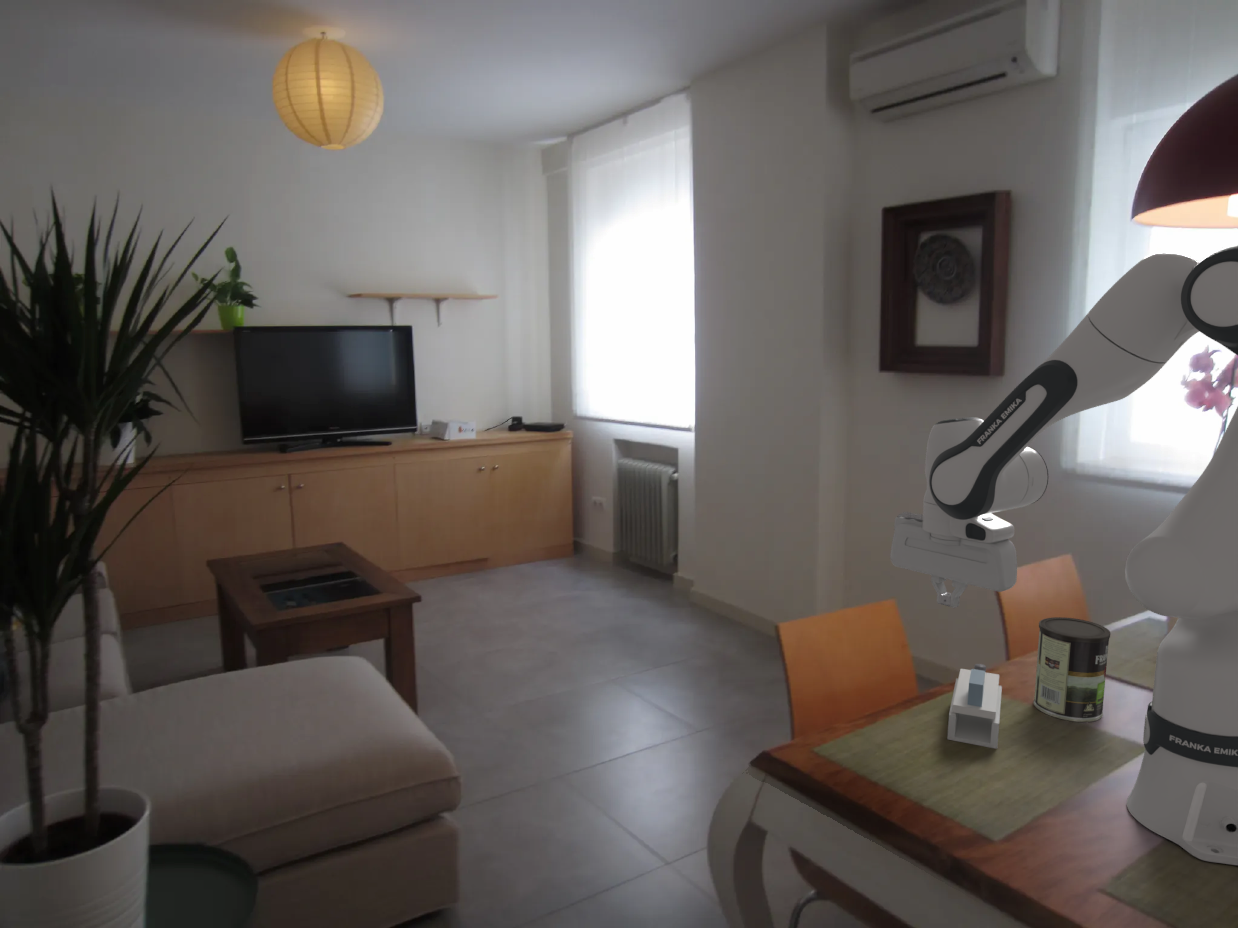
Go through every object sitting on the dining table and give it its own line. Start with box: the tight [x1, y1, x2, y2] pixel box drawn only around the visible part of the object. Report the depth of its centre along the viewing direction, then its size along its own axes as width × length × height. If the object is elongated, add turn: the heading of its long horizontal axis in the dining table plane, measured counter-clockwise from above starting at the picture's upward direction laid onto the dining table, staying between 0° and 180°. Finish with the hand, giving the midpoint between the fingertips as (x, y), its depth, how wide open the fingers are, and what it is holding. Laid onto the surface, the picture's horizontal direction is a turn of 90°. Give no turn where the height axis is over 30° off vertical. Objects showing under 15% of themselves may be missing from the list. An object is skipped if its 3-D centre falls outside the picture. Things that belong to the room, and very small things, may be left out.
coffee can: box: [1033, 617, 1111, 723], centre depth 140 cm, size 10×10×14 cm
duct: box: [947, 678, 1003, 750], centre depth 135 cm, size 7×15×4 cm, turn 155°
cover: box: [952, 663, 1000, 720], centre depth 136 cm, size 6×17×9 cm, turn 154°
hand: (947, 605), depth 135 cm, fingers closed
